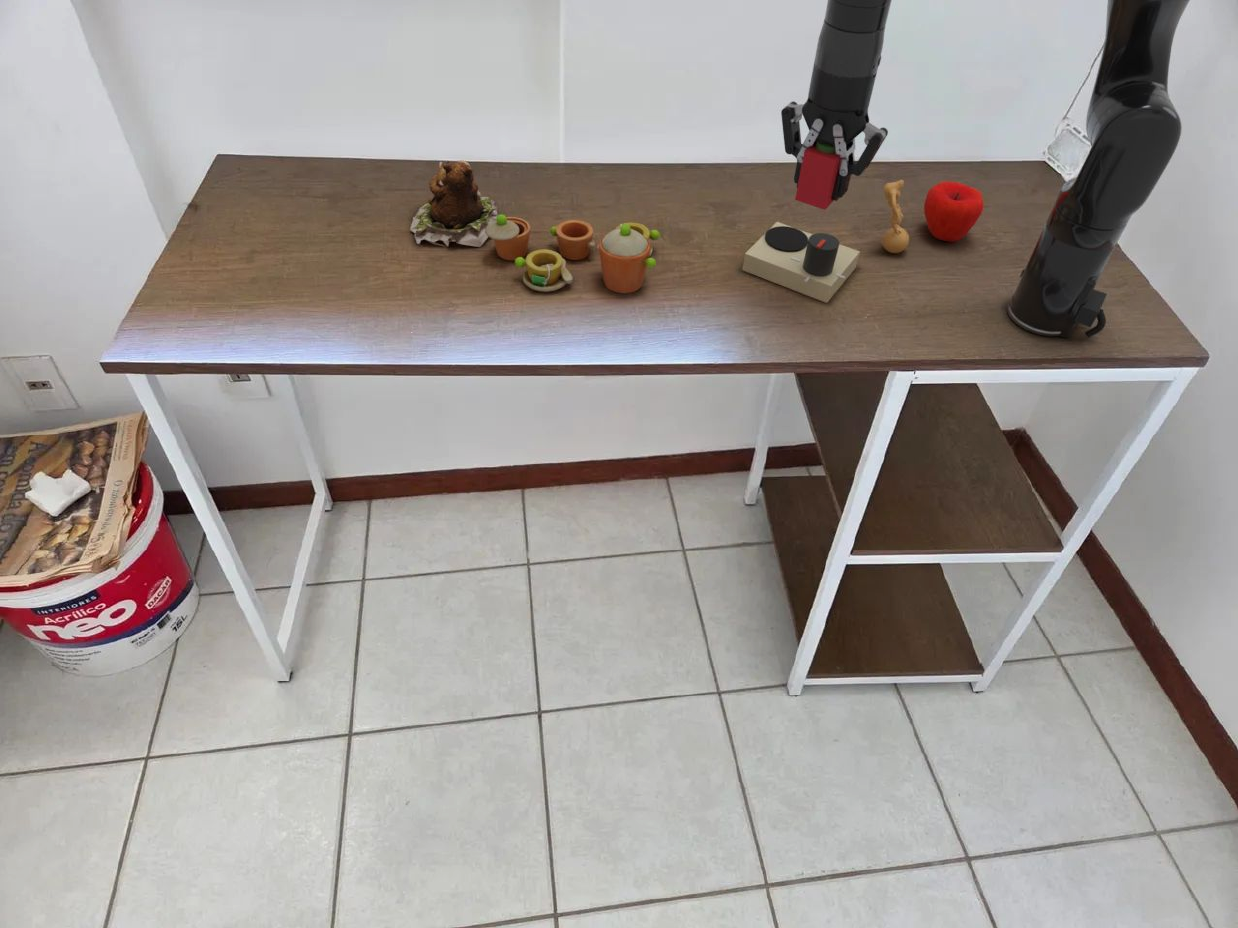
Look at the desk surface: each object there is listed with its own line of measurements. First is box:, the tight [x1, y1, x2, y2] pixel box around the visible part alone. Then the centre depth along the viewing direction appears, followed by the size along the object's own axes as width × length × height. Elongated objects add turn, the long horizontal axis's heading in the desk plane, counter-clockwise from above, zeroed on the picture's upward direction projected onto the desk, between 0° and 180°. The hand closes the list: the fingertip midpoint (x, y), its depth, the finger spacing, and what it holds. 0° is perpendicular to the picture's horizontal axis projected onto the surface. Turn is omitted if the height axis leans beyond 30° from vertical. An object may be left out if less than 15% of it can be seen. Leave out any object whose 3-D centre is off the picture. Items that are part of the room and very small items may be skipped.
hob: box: [741, 221, 861, 304], centre depth 132 cm, size 15×12×3 cm
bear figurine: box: [409, 159, 499, 248], centre depth 134 cm, size 14×15×12 cm
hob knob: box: [803, 232, 840, 276], centre depth 127 cm, size 4×4×5 cm
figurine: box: [881, 179, 910, 254], centre depth 133 cm, size 8×6×12 cm
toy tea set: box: [485, 214, 660, 294], centre depth 128 cm, size 26×16×10 cm, turn 93°
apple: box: [923, 180, 985, 243], centre depth 139 cm, size 9×9×8 cm
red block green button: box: [794, 142, 840, 211], centre depth 114 cm, size 4×5×8 cm
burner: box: [764, 226, 808, 252], centre depth 133 cm, size 7×7×1 cm
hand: (819, 191), depth 117 cm, fingers closed on red block green button, 4 cm apart
